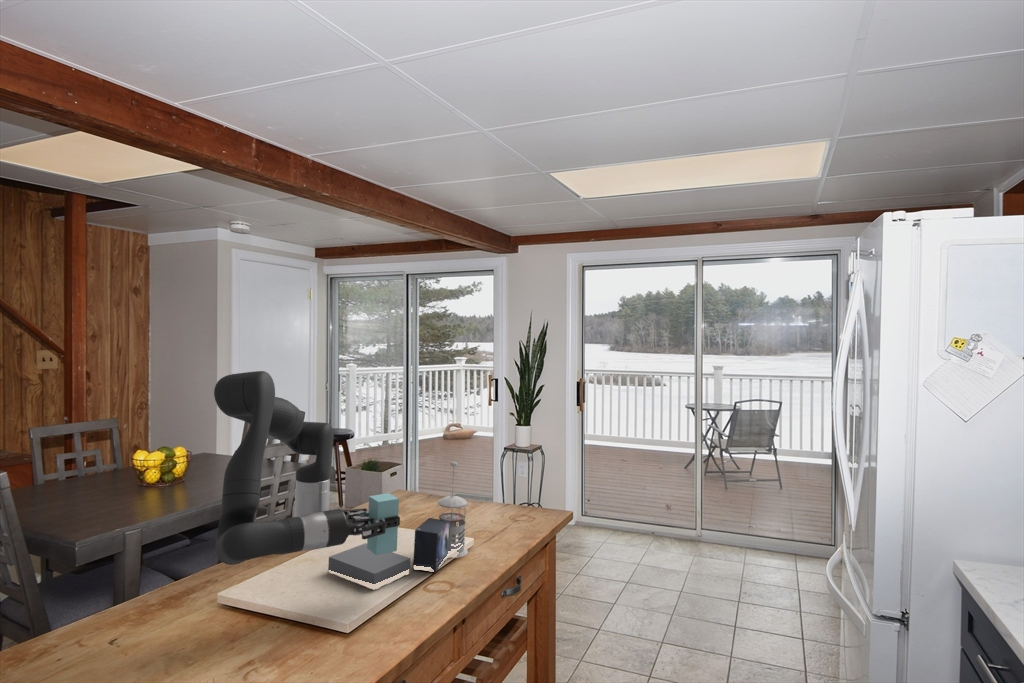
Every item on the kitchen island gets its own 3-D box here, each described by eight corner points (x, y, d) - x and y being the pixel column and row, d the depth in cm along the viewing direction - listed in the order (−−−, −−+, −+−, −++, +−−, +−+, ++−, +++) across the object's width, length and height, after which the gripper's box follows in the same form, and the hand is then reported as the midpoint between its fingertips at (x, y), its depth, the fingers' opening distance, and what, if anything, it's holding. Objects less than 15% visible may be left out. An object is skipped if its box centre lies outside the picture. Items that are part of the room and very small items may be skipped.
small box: (436, 574, 149) (438, 532, 149) (411, 571, 150) (413, 529, 150) (449, 558, 159) (450, 519, 159) (426, 555, 160) (427, 517, 160)
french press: (425, 554, 161) (429, 462, 161) (446, 540, 172) (449, 454, 172) (458, 560, 158) (461, 467, 157) (476, 546, 168) (480, 459, 168)
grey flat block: (328, 572, 147) (328, 556, 147) (364, 558, 157) (365, 543, 157) (374, 590, 138) (374, 573, 138) (409, 574, 148) (410, 558, 148)
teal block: (367, 548, 136) (369, 496, 136) (387, 543, 139) (389, 493, 139) (376, 555, 132) (378, 501, 132) (396, 551, 135) (398, 498, 135)
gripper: (333, 522, 121) (408, 509, 131) (310, 503, 132) (381, 493, 143) (332, 558, 121) (407, 543, 132) (309, 536, 133) (380, 523, 143)
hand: (393, 517), depth 137 cm, fingers closed on teal block, 5 cm apart
